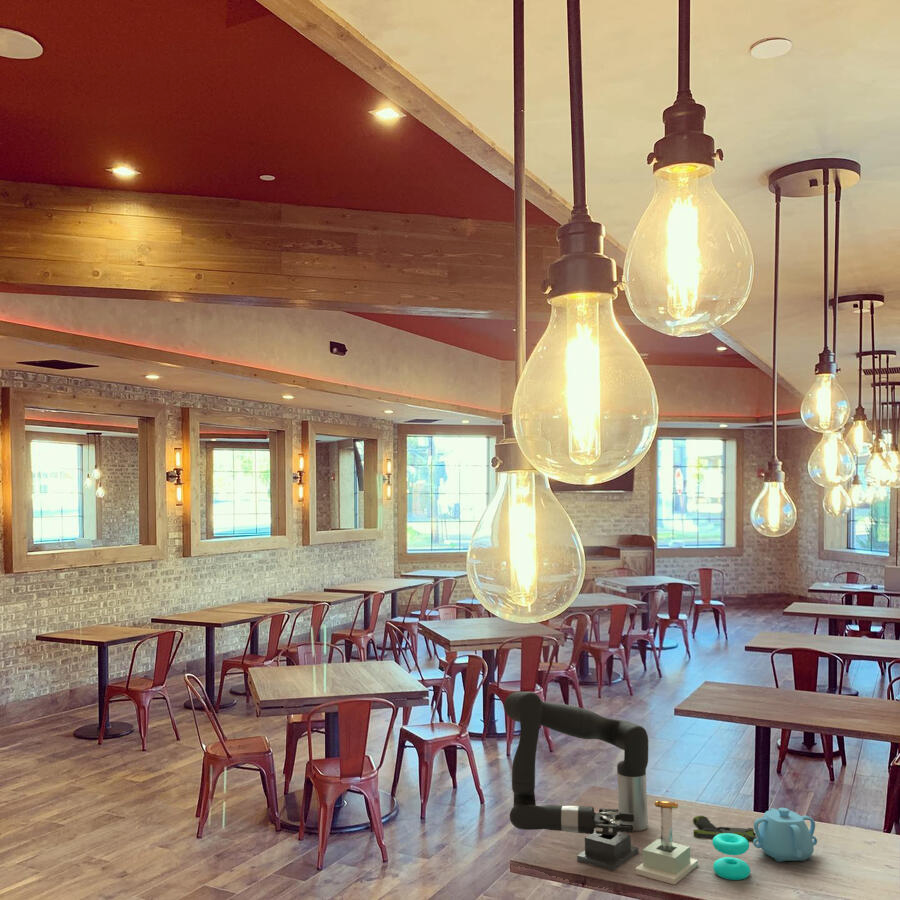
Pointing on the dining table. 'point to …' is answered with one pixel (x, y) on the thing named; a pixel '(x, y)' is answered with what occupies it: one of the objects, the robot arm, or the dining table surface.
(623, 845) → the block
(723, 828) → the gun
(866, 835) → the dining table surface
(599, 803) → the dining table surface
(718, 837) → the donuts
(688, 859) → the pale green socket base
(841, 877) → the dining table surface
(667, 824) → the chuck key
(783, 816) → the decorative pot
